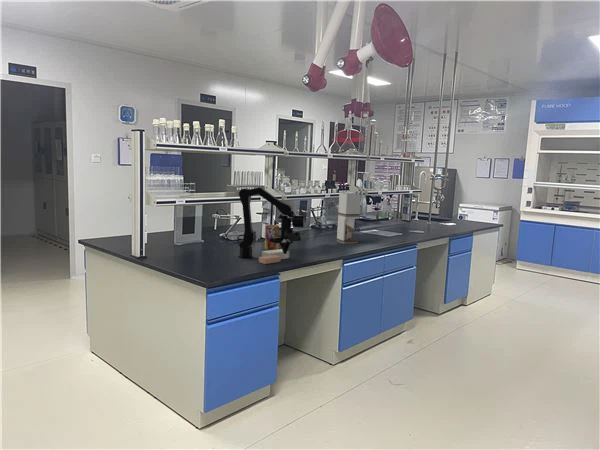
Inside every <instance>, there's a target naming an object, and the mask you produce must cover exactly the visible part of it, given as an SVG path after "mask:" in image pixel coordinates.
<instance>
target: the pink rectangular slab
mask: <svg viewBox="0 0 600 450" xmlns="http://www.w3.org/2000/svg"><path fill="white" fill-rule="evenodd" d="M281 260H282V259H281V257H280V256H277V255H271V256H263V257H262V256H259V257H258V263H260V264H263V265H266V264H267V265H268V264H274V263H281V262H282V261H281Z"/></svg>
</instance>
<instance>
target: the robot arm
mask: <svg viewBox="0 0 600 450" xmlns="http://www.w3.org/2000/svg"><path fill="white" fill-rule="evenodd" d="M257 195H258V196H259V197H262V198H263V199H265V200H266V201H267V202H268V203H270V204H271V205H273V206H274V207H275V208H276V209H277V210H278V211H279V212H280V214H279V216H278V217H277V219H279V220H280V224H281V225H280V227H279V231H280V234H279V237H276V236H275V237H271V238H270V242H273V243H279V247H281V248H280V249H282V250H283V253H284V254H286V253H287V251H289V247H290V245H291V244H293V243H294V242H300V241H302V237H301V232H298V231H296V232H294V230H293V228H292V226H293V227H294V228H299V229H300V228H305V223H306V221H305V215H297V214H295V212H294V211H293V206H292V205H291V204H289V203H287V202H285V201H283V200H280V199H279V198H277V196H276V197H275V196H274V195H272V193H270V192H268V191H267V190H265V189H264V188H263V187H262V186H260V187H259V186H258V187H257V188H256V187H255V188H252V189H251V188H250V189H249V188H247V187H246V188H241V189H240V190H239V191H238V196H239V200H240V203H241V204H242V214H243V224H244V231H243V237H242V241H241V242H240V243H239V244H238V246H239V255H238V256H237V257H238V258H241V259H244V260H245V259H252V258H254V256H253V249H252V248H253V246H252V245H253V244H254V243H255V242H256V239H257V231H255V230H254V229H253V225H252V212H251V211H252V210H251V201H252V197H253V196H257Z"/></svg>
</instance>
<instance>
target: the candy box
mask: <svg viewBox="0 0 600 450" xmlns="http://www.w3.org/2000/svg"><path fill="white" fill-rule="evenodd" d="M264 227H265V228H264V231H265V237H264V249H265V250H277V249H279V248H280V244H279V243H273V242H270V238H271V237H275V236H276V237H279V235H280V230H279V228H280V225H279V224H266V225H265V226H264Z"/></svg>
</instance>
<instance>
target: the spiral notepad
mask: <svg viewBox="0 0 600 450" xmlns="http://www.w3.org/2000/svg"><path fill="white" fill-rule="evenodd" d="M271 255H277V256H280V257H281V260H284V259H285V260H287V259H290V250H287V253H286V254H284V253H283V250H282V248H280V249H267V250H262V251H261V257H263V256H271Z"/></svg>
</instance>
